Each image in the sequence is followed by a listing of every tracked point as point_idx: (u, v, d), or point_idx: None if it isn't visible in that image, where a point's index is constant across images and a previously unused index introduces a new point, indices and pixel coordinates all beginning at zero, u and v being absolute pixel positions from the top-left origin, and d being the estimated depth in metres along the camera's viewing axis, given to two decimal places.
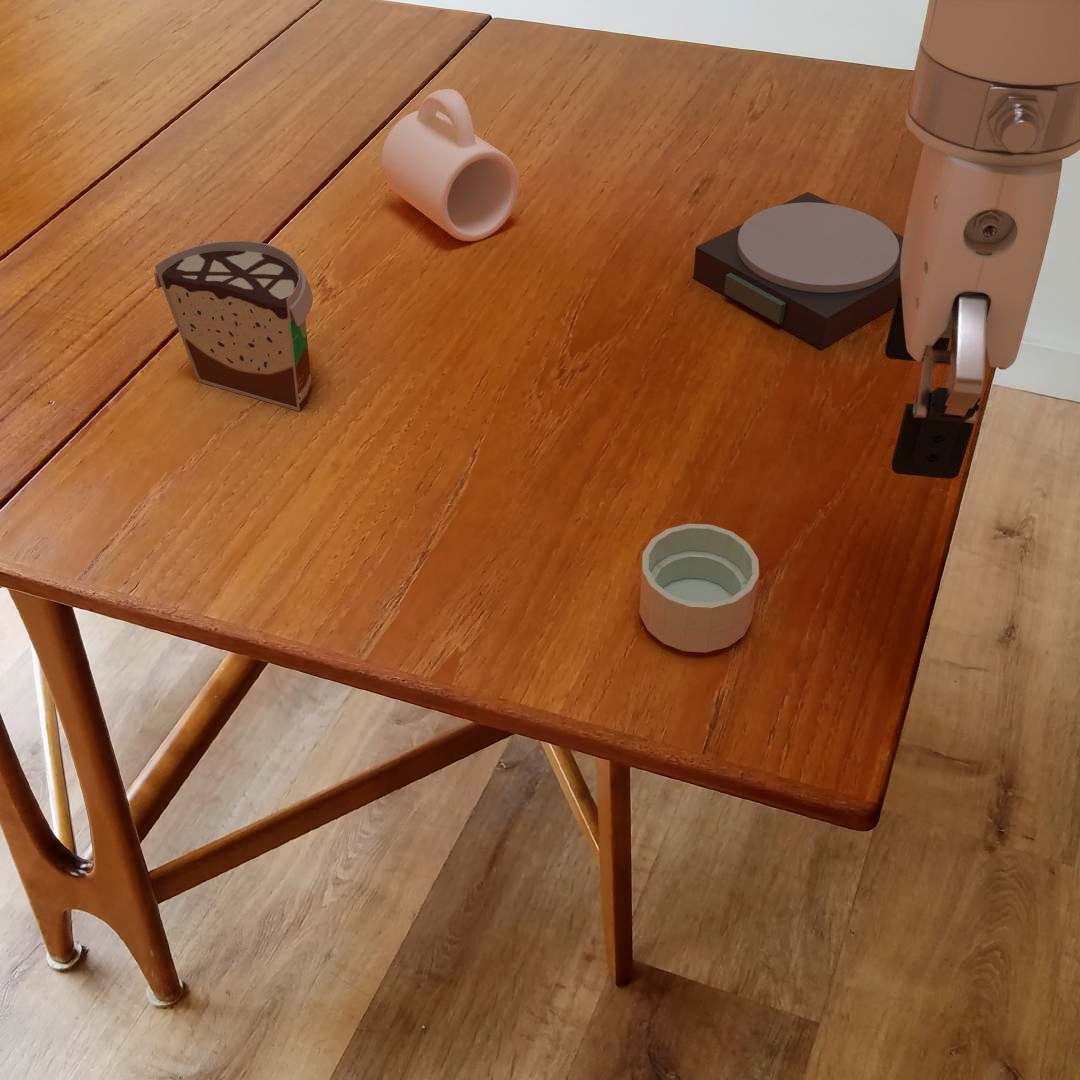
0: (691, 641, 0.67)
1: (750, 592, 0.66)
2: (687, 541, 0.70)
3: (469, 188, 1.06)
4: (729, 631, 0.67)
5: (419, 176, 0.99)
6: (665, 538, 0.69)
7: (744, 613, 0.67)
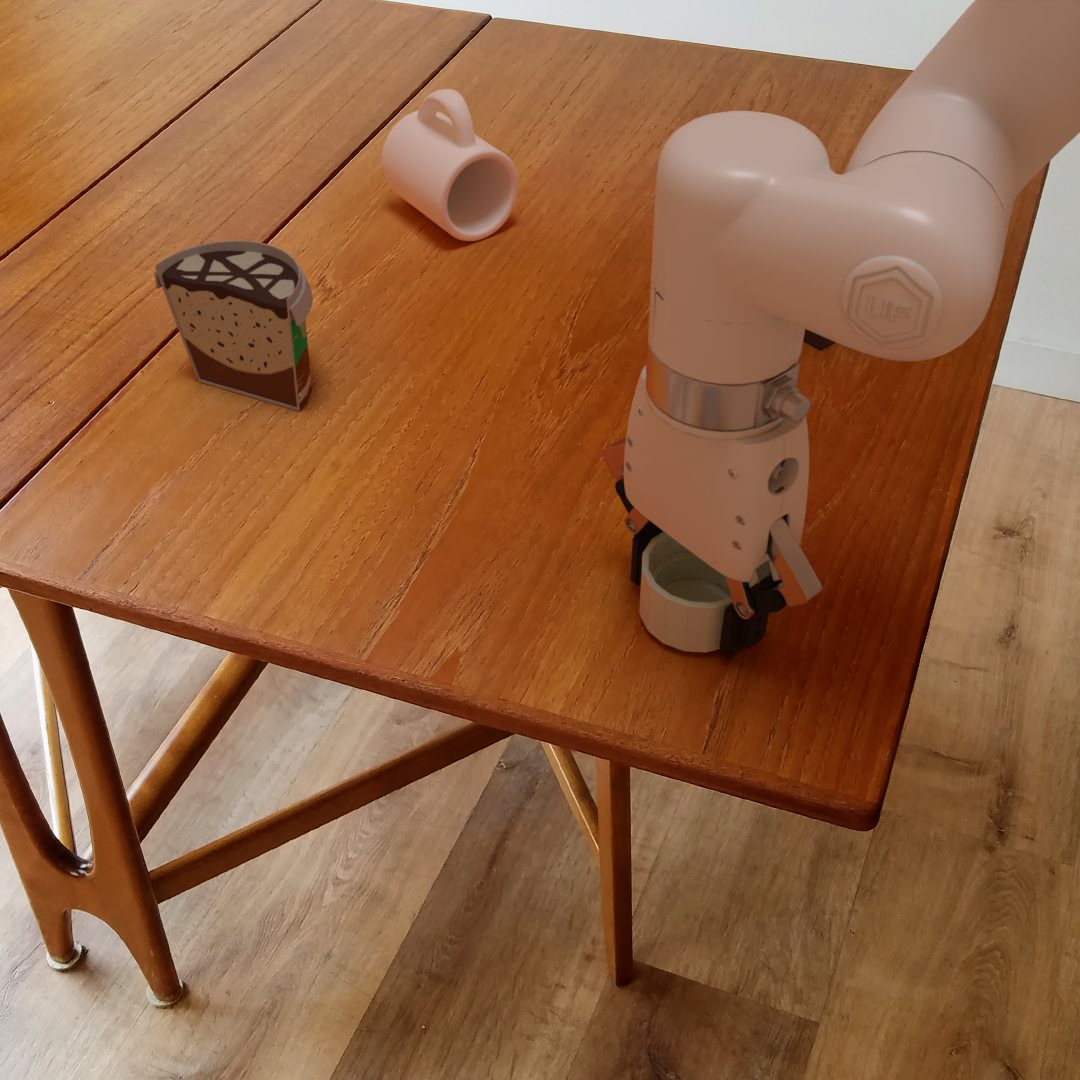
0: (691, 641, 0.67)
1: None
2: None
3: (469, 188, 1.06)
4: None
5: (419, 176, 0.99)
6: (665, 538, 0.69)
7: None
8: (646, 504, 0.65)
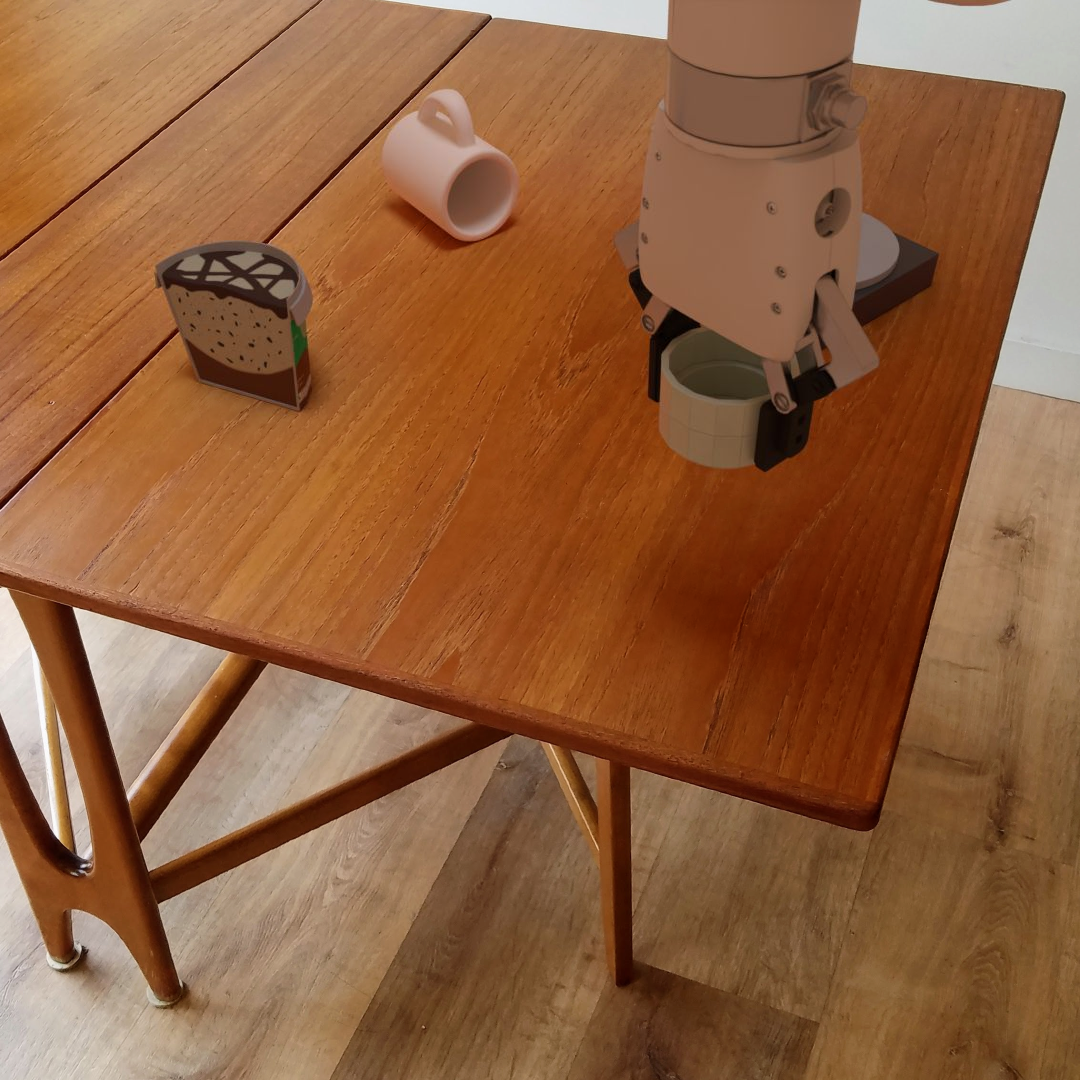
0: (720, 452, 0.57)
1: None
2: (713, 346, 0.61)
3: (469, 188, 1.06)
4: None
5: (419, 177, 0.99)
6: (688, 340, 0.60)
7: None
8: (666, 283, 0.55)
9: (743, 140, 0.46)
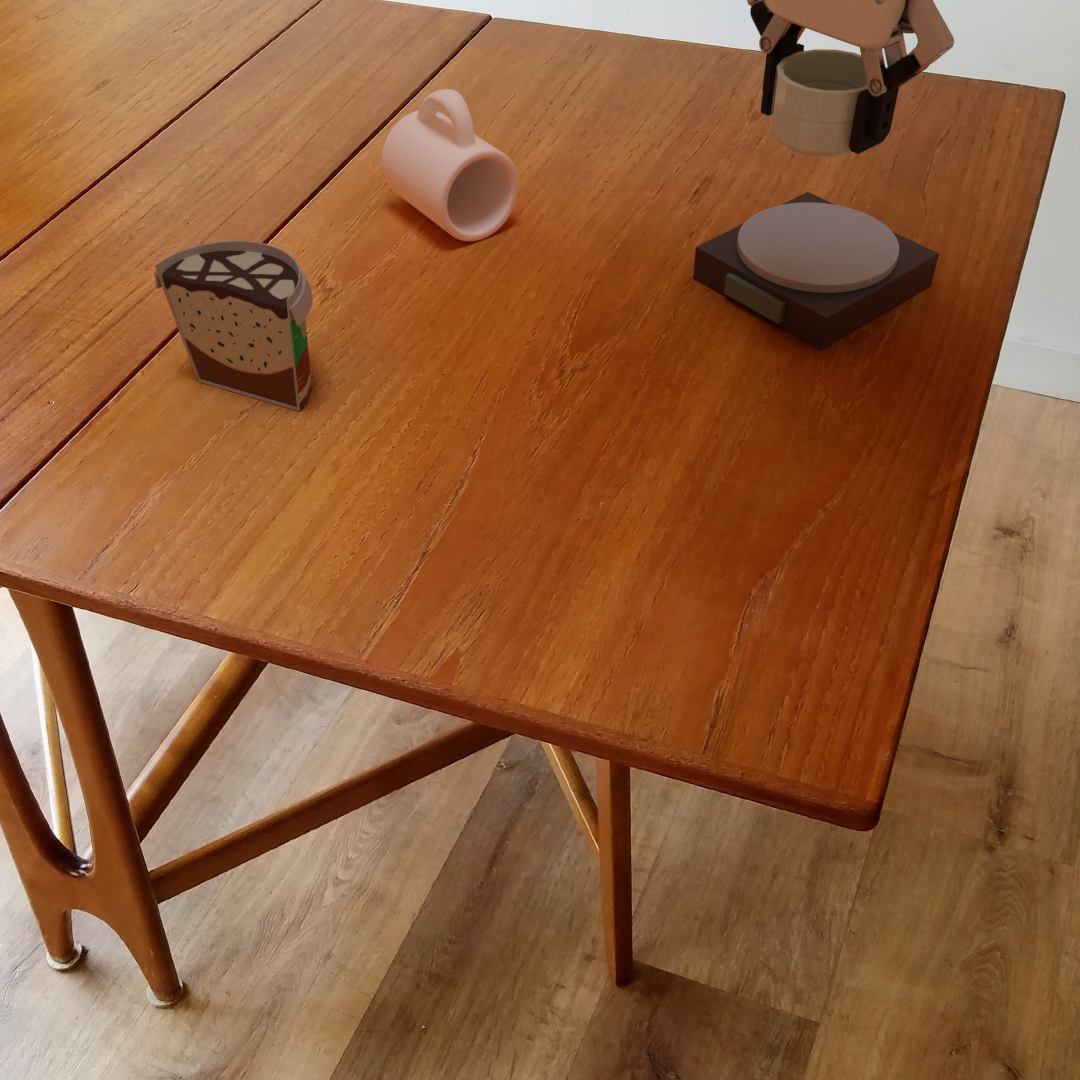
0: (823, 138, 0.75)
1: None
2: (813, 68, 0.78)
3: (469, 188, 1.06)
4: None
5: (419, 177, 0.99)
6: (795, 59, 0.77)
7: None
8: None
9: None
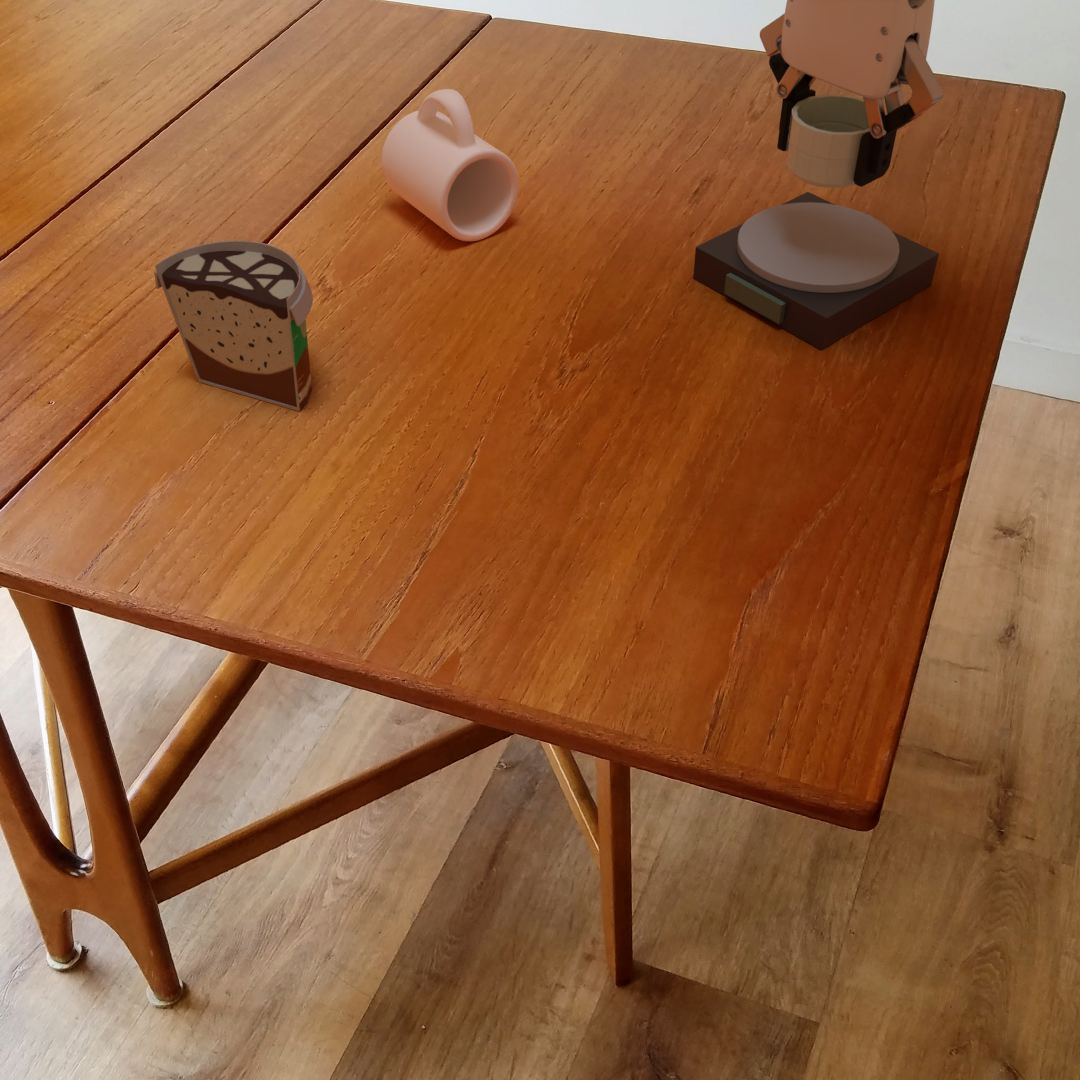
0: (831, 173, 0.86)
1: None
2: (823, 110, 0.90)
3: (469, 188, 1.06)
4: None
5: (419, 176, 0.99)
6: (807, 103, 0.89)
7: None
8: (801, 54, 0.84)
9: None
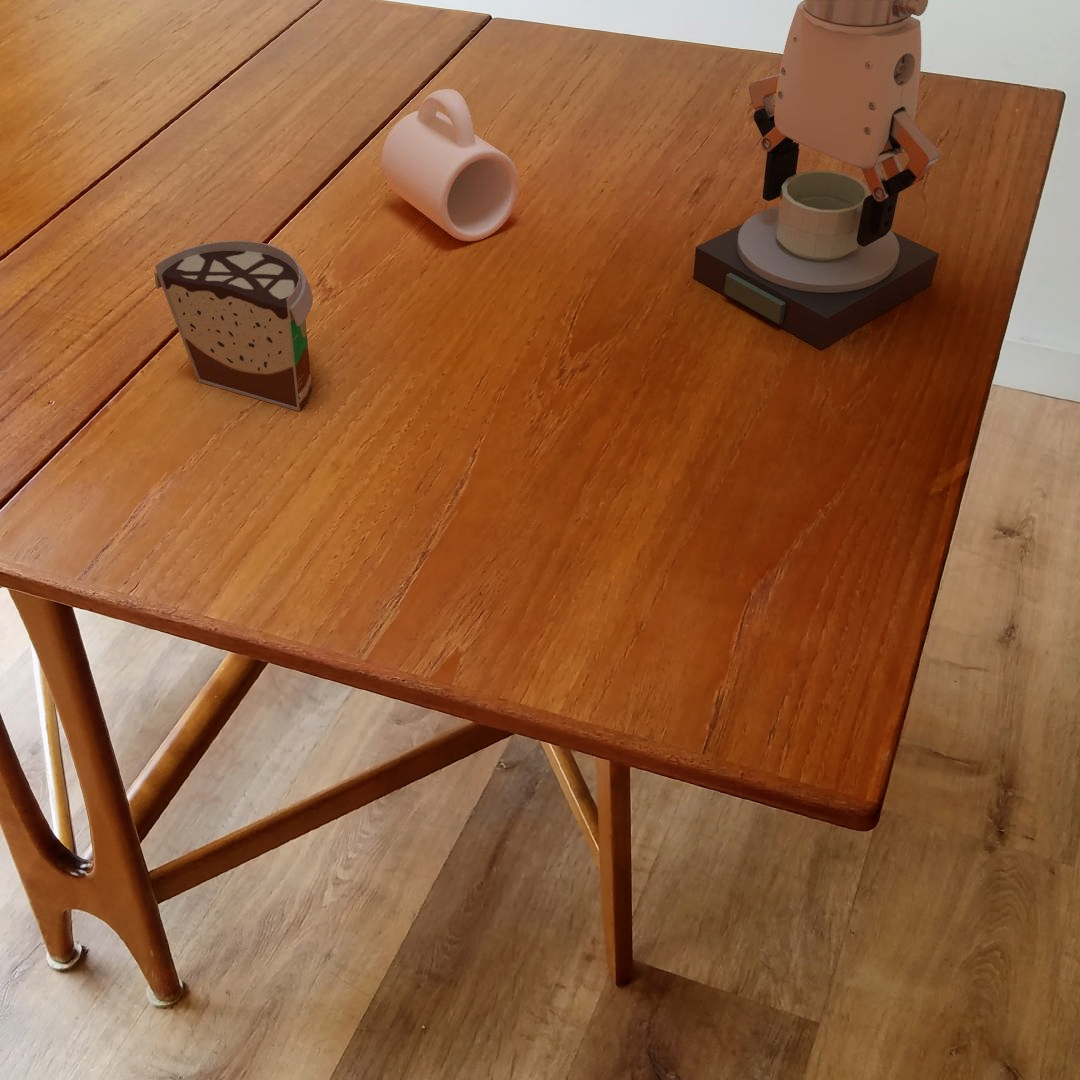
0: (819, 247, 0.91)
1: None
2: (812, 185, 0.94)
3: (469, 188, 1.06)
4: (847, 239, 0.91)
5: (419, 176, 0.99)
6: (797, 179, 0.93)
7: None
8: (793, 124, 0.88)
9: (854, 22, 0.78)
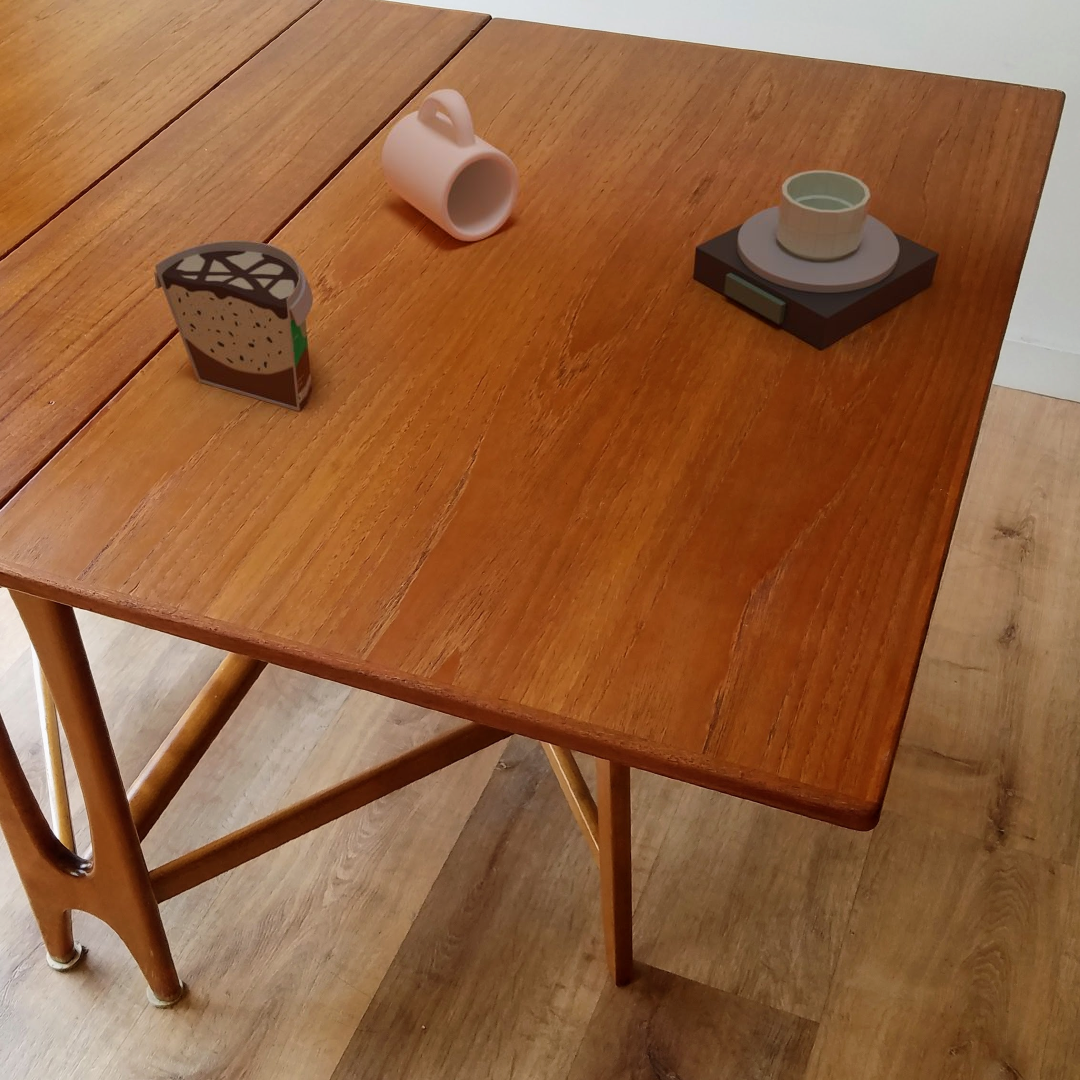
0: (819, 247, 0.91)
1: (864, 205, 0.90)
2: (812, 185, 0.94)
3: (469, 188, 1.06)
4: (847, 239, 0.91)
5: (419, 176, 0.99)
6: (797, 179, 0.93)
7: (859, 225, 0.91)
8: None
9: None
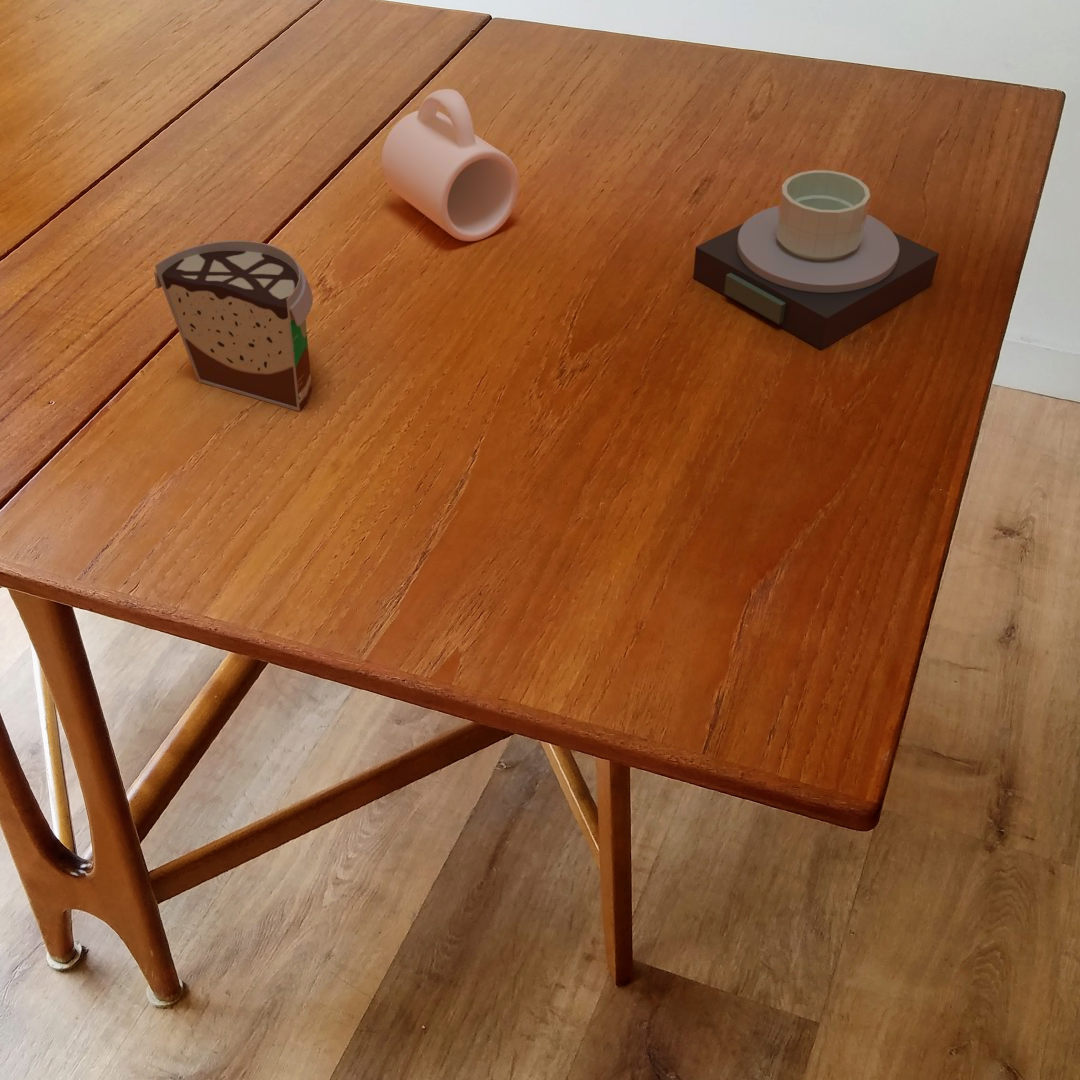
0: (819, 247, 0.91)
1: (864, 205, 0.90)
2: (812, 185, 0.94)
3: (469, 188, 1.06)
4: (847, 239, 0.91)
5: (419, 176, 0.99)
6: (797, 179, 0.93)
7: (859, 225, 0.91)
8: None
9: None
